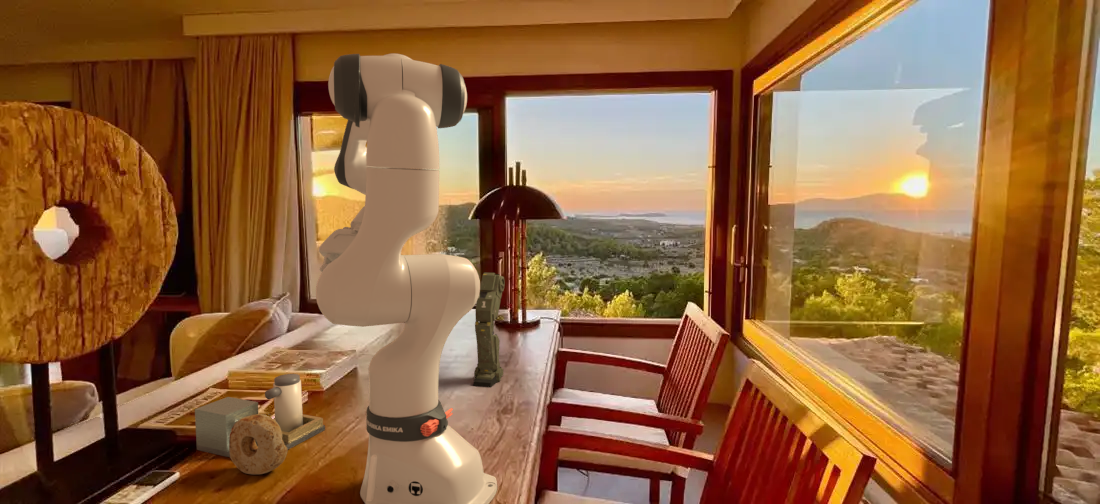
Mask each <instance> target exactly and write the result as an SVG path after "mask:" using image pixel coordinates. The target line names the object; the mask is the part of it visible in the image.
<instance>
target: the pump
mask: <svg viewBox="0 0 1100 504" xmlns="http://www.w3.org/2000/svg"><path fill="white" fill-rule="evenodd" d="M300 377H301V376H300V374H298V373H286V374H280V375H278V376H275V377H274V379H273V380H274V382H273V385H272V386H273V387H272V388H269V389H267V390H265V392H264V397H265V398H266V400H271V399H273V401H274V404H273V405H274V416H275V421H276V422H277V423H278V425H279V426H280V428H281V431H284V432H290V431H292V430H294V429H296V428H298V427H300V426H302V425H303V415H302V414H303V397H302V396H303V395H302V380H301V379H300Z"/></svg>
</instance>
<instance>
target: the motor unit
mask: <svg viewBox="0 0 1100 504" xmlns="http://www.w3.org/2000/svg"><path fill="white" fill-rule="evenodd" d="M256 414H259V402H258V401H253V400H247V399H242V398H237V397H231V396H227V397H224V398H222V399H219V400H218V399H217V400H216V401H213V402H210V403H208V404H205V405H202V406H200V407H196V408H195V409H194V420H195V437H196V440H195V441H196V450H197V451H200V452H205V453H209V454H213V455H218V456H222V457H226V458H230V448H229V441H230V433H231V431H232V430H231V429H232V428H233V426H234V424H235V423H236V422H238V421H239V420H240V419H242V418H244V417H247V416H251V415H256ZM302 415H303V425H302V426H300V427H298V428H296V429H294V430H292V431H290V432H284V431H282V440H283V441H284V445H285V446H286V447H287V451H288V450H291V449H292V448H294V447H295V446H297V445H299V444H301V443H303V442H305V441H307V440H309V439H310V438H313V437H314V436H316V435H319V434H321V433H322V432H324V431H325V430H326V425H325V424H324V418H323V417H320V416H314V415H308V414H303V413H302ZM274 420H275V418H274ZM255 442H256V440H255ZM256 445H257V446H258V444H257V442H256Z"/></svg>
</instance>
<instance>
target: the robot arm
mask: <svg viewBox="0 0 1100 504" xmlns="http://www.w3.org/2000/svg"><path fill="white" fill-rule="evenodd" d="M327 86H328V93H329V97H330V100H331V102H332V104H333V105H334V111H336V112H337V113H338V114H339V115H340V116H341V117H342V118H343V119H345V120H347V122H346V125H345V130H344V133H343V138H342V143H341V147H340V150H339V154H338V157H337V158H336V161H335V164H334V167H333V172H334V174H335V178H336V180H337V181H338V183H339V184H340V185H343V186H344V187H348V188H350V189H352V190H354V191H357V192H359V193H361V194H363V195H365V200H364V206H363V207H362V208H361V209H360V210H359V212H358V213H357V214H356V215H355V217H353V219H352V221H351V222H350V227H349V226H343V228H338V229H336V230H334V231H333V232H332V233H331V234H330V235H328V236H327V238H326V239H325V240H324V241H323V242H322V243H321V244H320V246H319V248H318V252H319V253H320V255H321V256H322V257H324V258H323V263H322V265H321V266H320V267H319V271H320V272H321V273H320V275H319V277H318V278H317V282H316V287H315V300H316V303H317V304H316V305H317V306H318V309H319V311H320V312H321V313H322V315H323V317H324V318H325V319H326V320H327V321H329V322H330V323H331V324H332V325H339V326H340V325H341V326H348V327H361V328H362V327H373V326H376V327H377V326H382V325H383V326H386V325H394V324H396V325H397V324H404V326H403V329H402V331H401V332H400V333H399V335H398V336H397V337H396V338H395V339H394V340H393V341H391V342H390V343H388V344H386V345H385V346H382V347H381V348H380V349H379V350H378V351H377V352H376V353H375V354H374V355H373V356H372V358H371V360H370V362H369V365H368V368H367V369H368V401H369V402H368V406H367V407H366V417H365V418H366V420H365V421H366V423H365V424H366V432H367V433H368V448H367V456H366V465H365V471H364V475H363V480H362V484H361V487H360V491H359V494H360V498H361V500H362V501H363V502H364V504H490V502H491V501H493V499H494V497H495V496H496V493H497V491H498V481H497V478H496V477H495V476H494V475H491V474H488V473H485V472H484V466H483V461H482V456H481V454H480V452H479V450H478V449H477V448H475V446H473V445H472V444H471V443H469V442H468V441H467V440H466V439H465V438H464V437H462V436H461V434H459V433H458V432H457V431H456V430H455V429H454V428H452V426H450V425H449V421H448V418H450V417H451V416H452V415H453V412H452V411H454V409H453V408H452V407H451V408H449V409H447V411H445V409H444V408H443V405H442V403H441V402H442V401H441V400H440V399H439V377H440V376H439V375H440V365H441V364H440V363H441V358H442V354H443V349H444V347H445V344H446V342H447V339H448V337H450V335H451V332H452V331H453V329H454V328H455V327H456V326H457V324H458V322H460V321H461V320H462V319H463V318H464V317H465V316H466V315H467V314H468V313H469V312H471V311H472V309H473V308H474V307H475V306H476V304H477V299H478V298H479V295H480V288H481V281H480V276H479V273H478V270H477V269H476V268H475V267H476V266H475V265H474V264H473V263H472V261H470V260H469V259H468V258H466V257H461V256H457V255H452V254H451V255H450V254H443V253H428V254H425V253H424V254H404V255H403V254H402V250H403V248H404V246H405V245H406V243H407V241H408V240H409V239H410V238H412V237H414V236H415V235H417V234H420V233H421V232H424V231H425V230H427V229H428V228H429V227H431V226H432V225H433V224H434V222H435V221H436V219H437V218H438V216H439V211H440V210H439V209H440V147H439V138H438V131H437V129H446V128H451V127H456V126H457V124H459V123H460V122H461V121H462V119H463V116H464V113H465V111H466V108H467V103H468V92H467V87H466V83H465V80H464V77H463V75H462V74H461V73H460V71H459V70H458V69H456V68H454V67H452V66H449V65H446V64H442V63H440V64H439V65H436V64H434V63H429V62H425V61H420V60H414V59H412V58H411V57H409V56H407V55H404V54H400V53H388V54H387V53H386V54H384V55H360V53H352V54H349V53H348V54H343V55H340V56H339V57H337V59H336V60H335V61H333V67H332V68H331V70H330V74H329V77H328V83H327Z"/></svg>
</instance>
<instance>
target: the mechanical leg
mask: <svg viewBox="0 0 1100 504" xmlns="http://www.w3.org/2000/svg"><path fill="white" fill-rule="evenodd" d="M505 284H506V283H505V277H504V276H503V275H500V274H499V273H495V272H483V274H482V277H481V281H480V293H479V297H478V299H477V302H476V304H475V323H474V332H475V337H476V338H475V339H476V352H477V364H476V367H475V369H474V371H473V372H474V373H473V375H474V380H473V384H472V386H473V387H482V388H492V387H494V386H495V385H496V384H497V383H499V382H500V381H502V376H504V368H502V366H501V363H500V359H499V358H500V357H499V356H500V338H499V336H498V334H497V333H495V331H494V328H495V325H494V324H495V323H494V322H496V320H497V319H498V318H499V313H500V311H499V310H500V305H501V301H502V300H501V299H502V295H503V292H504V289H505V286H506V285H505Z"/></svg>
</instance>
